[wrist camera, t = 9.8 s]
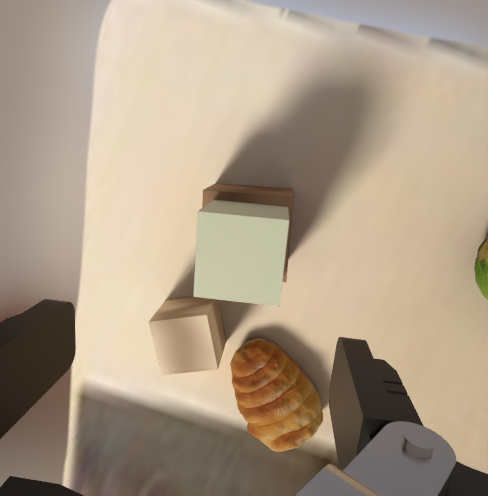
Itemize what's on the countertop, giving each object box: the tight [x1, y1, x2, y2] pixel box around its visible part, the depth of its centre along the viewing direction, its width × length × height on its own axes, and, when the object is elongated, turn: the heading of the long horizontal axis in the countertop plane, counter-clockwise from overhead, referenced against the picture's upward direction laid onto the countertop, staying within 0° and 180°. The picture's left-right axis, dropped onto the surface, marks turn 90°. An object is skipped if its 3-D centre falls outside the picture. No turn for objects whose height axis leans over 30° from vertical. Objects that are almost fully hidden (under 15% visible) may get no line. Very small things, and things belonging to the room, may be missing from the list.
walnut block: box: [203, 184, 293, 282], centre depth 29 cm, size 6×6×5 cm
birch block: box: [149, 297, 226, 375], centre depth 32 cm, size 4×4×4 cm
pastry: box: [230, 338, 323, 452], centre depth 33 cm, size 9×7×4 cm
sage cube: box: [193, 200, 289, 306], centre depth 24 cm, size 5×5×5 cm
